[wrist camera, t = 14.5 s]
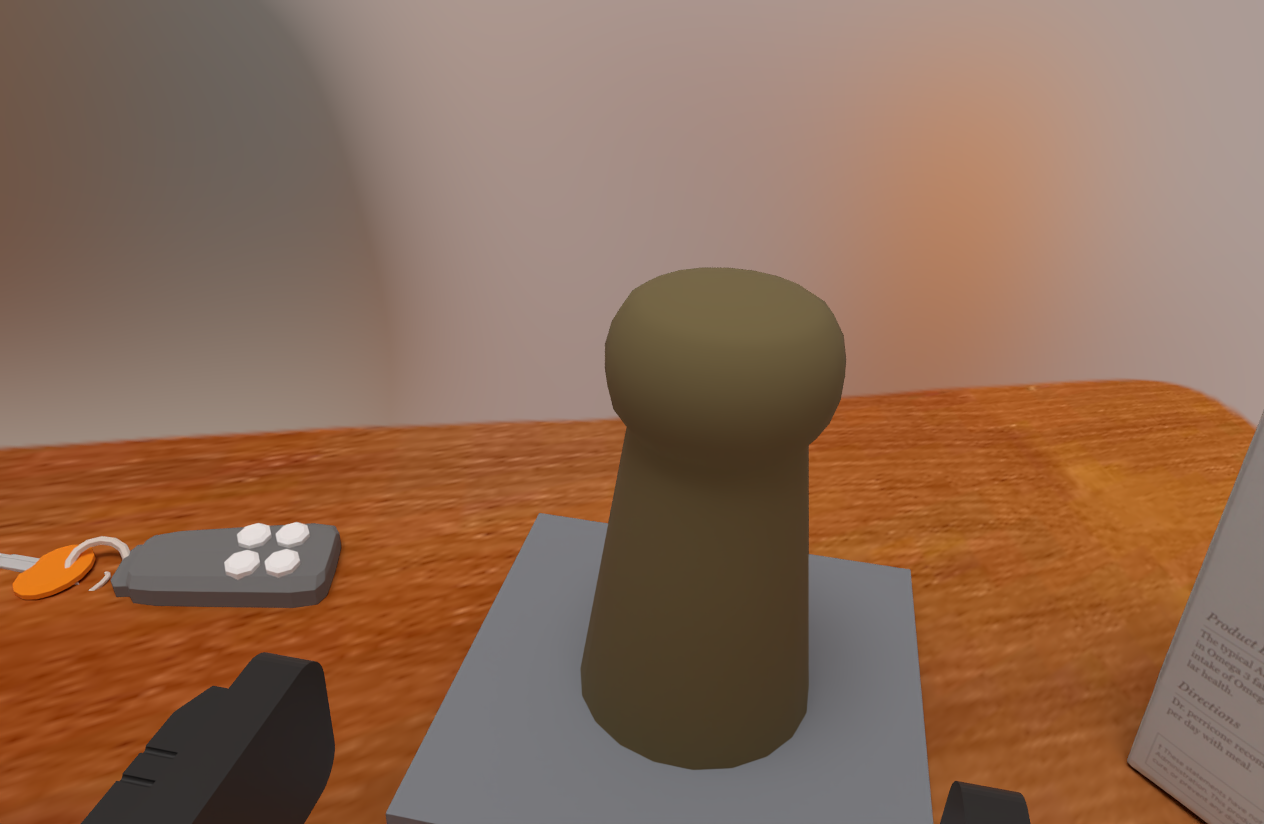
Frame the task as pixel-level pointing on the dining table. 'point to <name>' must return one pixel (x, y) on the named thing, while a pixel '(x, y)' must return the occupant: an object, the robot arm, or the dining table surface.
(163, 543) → the key chain
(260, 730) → the robot arm
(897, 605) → the slate mat
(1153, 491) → the dining table surface
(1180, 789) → the supplement box
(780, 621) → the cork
